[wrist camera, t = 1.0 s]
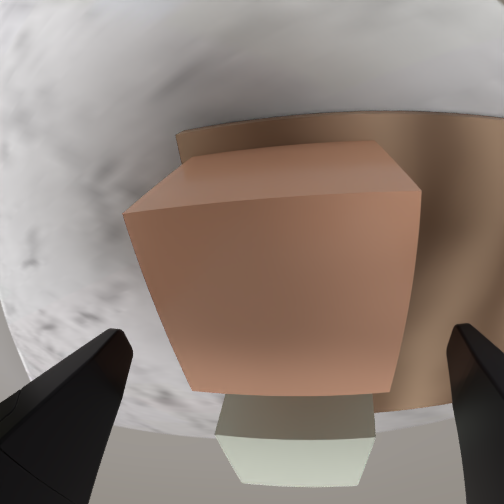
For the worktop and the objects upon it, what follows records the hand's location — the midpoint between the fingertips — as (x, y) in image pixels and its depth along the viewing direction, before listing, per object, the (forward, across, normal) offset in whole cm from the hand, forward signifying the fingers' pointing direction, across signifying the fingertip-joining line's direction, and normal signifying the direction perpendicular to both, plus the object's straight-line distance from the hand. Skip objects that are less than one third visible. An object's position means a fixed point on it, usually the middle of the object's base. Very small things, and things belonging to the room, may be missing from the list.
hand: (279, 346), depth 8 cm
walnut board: (+7, -5, +5) cm, 10 cm away
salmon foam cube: (+6, 0, 0) cm, 6 cm away
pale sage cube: (+6, 0, +10) cm, 12 cm away
